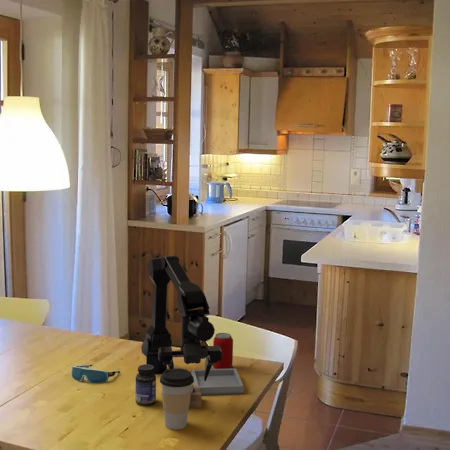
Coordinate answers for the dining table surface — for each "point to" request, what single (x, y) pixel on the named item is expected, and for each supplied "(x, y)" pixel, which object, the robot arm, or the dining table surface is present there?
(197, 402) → the wooden frame block
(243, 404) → the dining table surface
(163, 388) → the coffee cup
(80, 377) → the sunglasses
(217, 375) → the tray
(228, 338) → the beverage can
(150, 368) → the pill bottle
